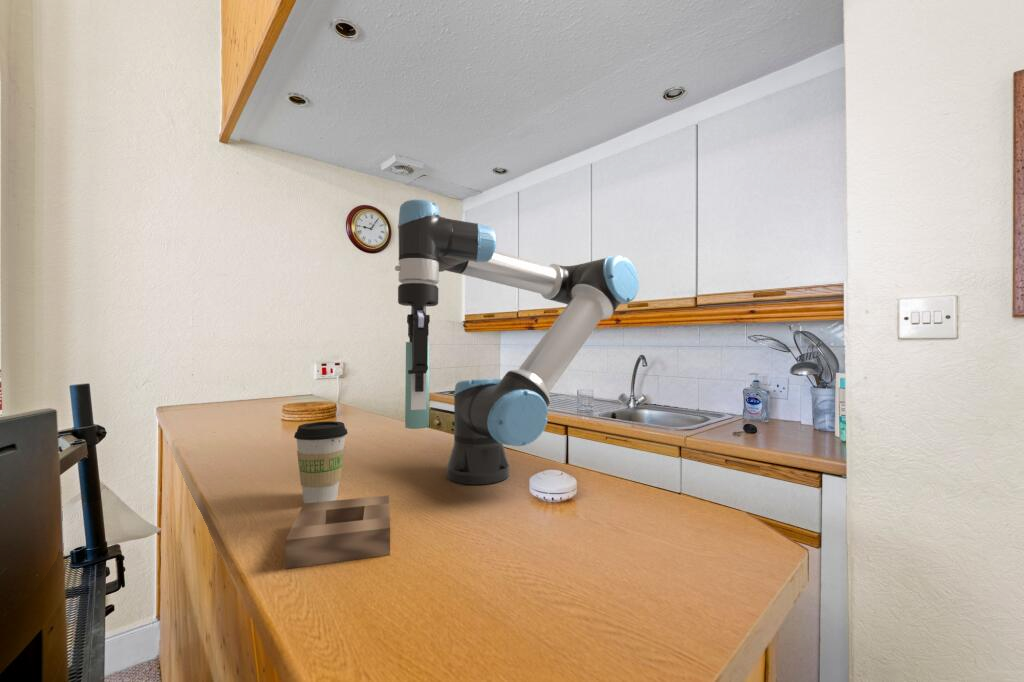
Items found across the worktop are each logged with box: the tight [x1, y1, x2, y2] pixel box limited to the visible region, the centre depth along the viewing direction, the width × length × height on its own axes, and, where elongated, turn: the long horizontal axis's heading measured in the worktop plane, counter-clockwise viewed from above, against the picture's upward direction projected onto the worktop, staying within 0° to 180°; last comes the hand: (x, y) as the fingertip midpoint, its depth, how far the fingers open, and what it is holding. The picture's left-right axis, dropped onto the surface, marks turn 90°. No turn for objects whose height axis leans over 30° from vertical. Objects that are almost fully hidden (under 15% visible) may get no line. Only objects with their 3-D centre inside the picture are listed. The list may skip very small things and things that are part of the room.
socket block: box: [284, 495, 391, 570], centre depth 67 cm, size 14×14×4 cm
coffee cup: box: [293, 420, 348, 504], centre depth 84 cm, size 10×10×15 cm
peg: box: [404, 341, 431, 430], centre depth 79 cm, size 4×4×16 cm
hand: (417, 407), depth 79 cm, fingers closed on peg, 4 cm apart
